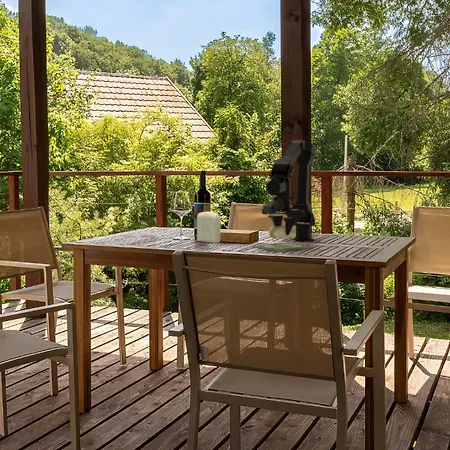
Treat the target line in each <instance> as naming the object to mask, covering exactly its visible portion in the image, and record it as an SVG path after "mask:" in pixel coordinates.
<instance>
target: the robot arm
mask: <svg viewBox="0 0 450 450" xmlns="http://www.w3.org/2000/svg"><path fill="white" fill-rule="evenodd" d="M316 148H317V147H316V146H315V145H314V144H313V143H309V142H307V141H305V140H303V139H293V140H291V142H290V146H289V147H288V148H287V150H286V152H285V153H284V155H283V156H282V157H279V158H277V159H275V161H274V163H273V164H272V165H271V170H270V174H269V177H268V178H269V179H270V180H269V181H268V182H267V183H266V185H265V190H266V193H267V194H269V195H270V196H273V197H272V200H271V201H268V202H267V203H265V204H263V205H262V208H261V214H262V215H267V217H268V218H269V219H270V220H271V221H272V223H273V227H276V226H283V225H282V224H283V221H284V222H285V223H284V224H285V225H284V226H285V230H286V235H289V233H290V231H291V229H292V227H293V226H295V227H296V237H292V240H293V241H300V242H307V241H314V240H315V238H312V235H313V234H312V230H313V229H312V227H315V226H316V218H315V216H314V213H313V207H312V205H311V203H310V201H309V197H310V195H309V194H310V176H311V175H310V172H311V171H310V170H311V166H312V164H313V163H314V161H315V156H316V153H317V149H316ZM295 162H296V163H297V165H298V166H297V167H298V170H297V191H296V194H297V195H296V201H295V202H294V204H292V206H291V200H293V199H294V196H292V195H291V192H292V191H291V188H292V187H291V185H292V184H291V183H292V177H293V174H294V172H295ZM285 215H286V216H285ZM284 216H285V217H284Z"/></svg>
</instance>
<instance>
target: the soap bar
mask: <svg viewBox="0 0 450 450" xmlns="http://www.w3.org/2000/svg"><path fill="white" fill-rule="evenodd" d="M196 224H197V225H196V241H197V242H204V243H214V244H218V243H220V242H221V216H220V214H218V213H217V212H213V211H202V212H199V213H198V214H197V217H196Z"/></svg>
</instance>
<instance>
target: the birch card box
mask: <svg viewBox="0 0 450 450" xmlns="http://www.w3.org/2000/svg"><path fill="white" fill-rule="evenodd" d="M295 237H296V225H293V227H292V229H291V231H290V233H289V235H286V230H285V225H281V226H276V227H275V226H270V227H269V238H272V239H275V240H276V239H277V240H281V239H291V238H295Z"/></svg>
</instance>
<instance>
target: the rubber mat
mask: <svg viewBox="0 0 450 450" xmlns="http://www.w3.org/2000/svg"><path fill="white" fill-rule="evenodd" d="M251 248H253V249H258V250H265V251H271V252H277V253H283V251H284V252H290V251H289V250H292V251H298V250H307V249H314V248H315V246H312V245H305V244H299V243H292V242H286V241H285V242H278V243H269V244H267V243H266V244H260V245H259V244H258V245H252V246H251Z"/></svg>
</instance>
